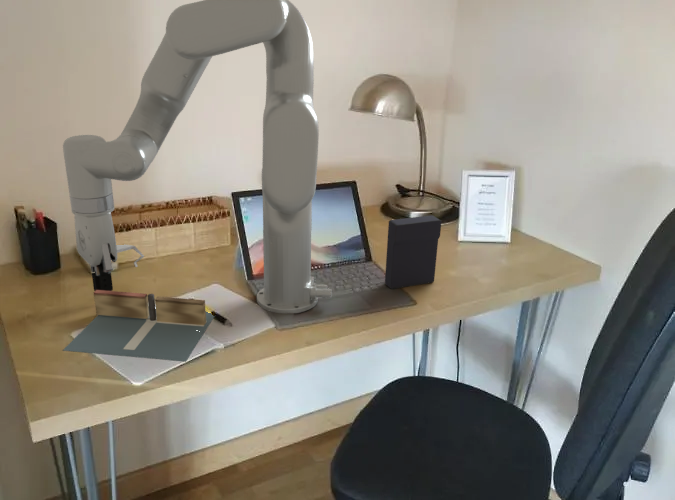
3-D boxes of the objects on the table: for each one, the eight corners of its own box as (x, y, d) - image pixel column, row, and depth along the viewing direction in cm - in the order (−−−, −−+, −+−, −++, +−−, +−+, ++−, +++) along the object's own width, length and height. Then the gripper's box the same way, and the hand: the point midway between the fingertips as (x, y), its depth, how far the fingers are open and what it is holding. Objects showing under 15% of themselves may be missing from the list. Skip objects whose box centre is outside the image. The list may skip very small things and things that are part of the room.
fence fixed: (206, 322, 117) (204, 297, 115) (204, 325, 116) (202, 300, 114) (151, 317, 118) (149, 293, 116) (148, 320, 117) (146, 296, 115)
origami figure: (91, 279, 135) (88, 258, 133) (86, 265, 141) (83, 245, 140) (147, 270, 140) (145, 250, 138) (140, 257, 147) (138, 237, 145)
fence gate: (149, 315, 118) (147, 293, 116) (146, 318, 117) (144, 296, 115) (99, 311, 119) (96, 289, 117) (96, 314, 118) (93, 292, 116)
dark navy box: (425, 275, 141) (431, 213, 135) (435, 283, 137) (441, 220, 132) (382, 282, 137) (386, 218, 131) (391, 290, 133) (396, 225, 128)
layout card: (217, 313, 121) (217, 311, 121) (186, 363, 105) (185, 360, 105) (110, 305, 124) (109, 303, 123) (62, 352, 107) (62, 350, 107)
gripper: (59, 195, 119) (72, 282, 126) (84, 217, 108) (97, 310, 115) (98, 189, 123) (109, 273, 130) (127, 209, 112) (136, 300, 119)
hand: (103, 290), depth 122 cm, fingers closed
